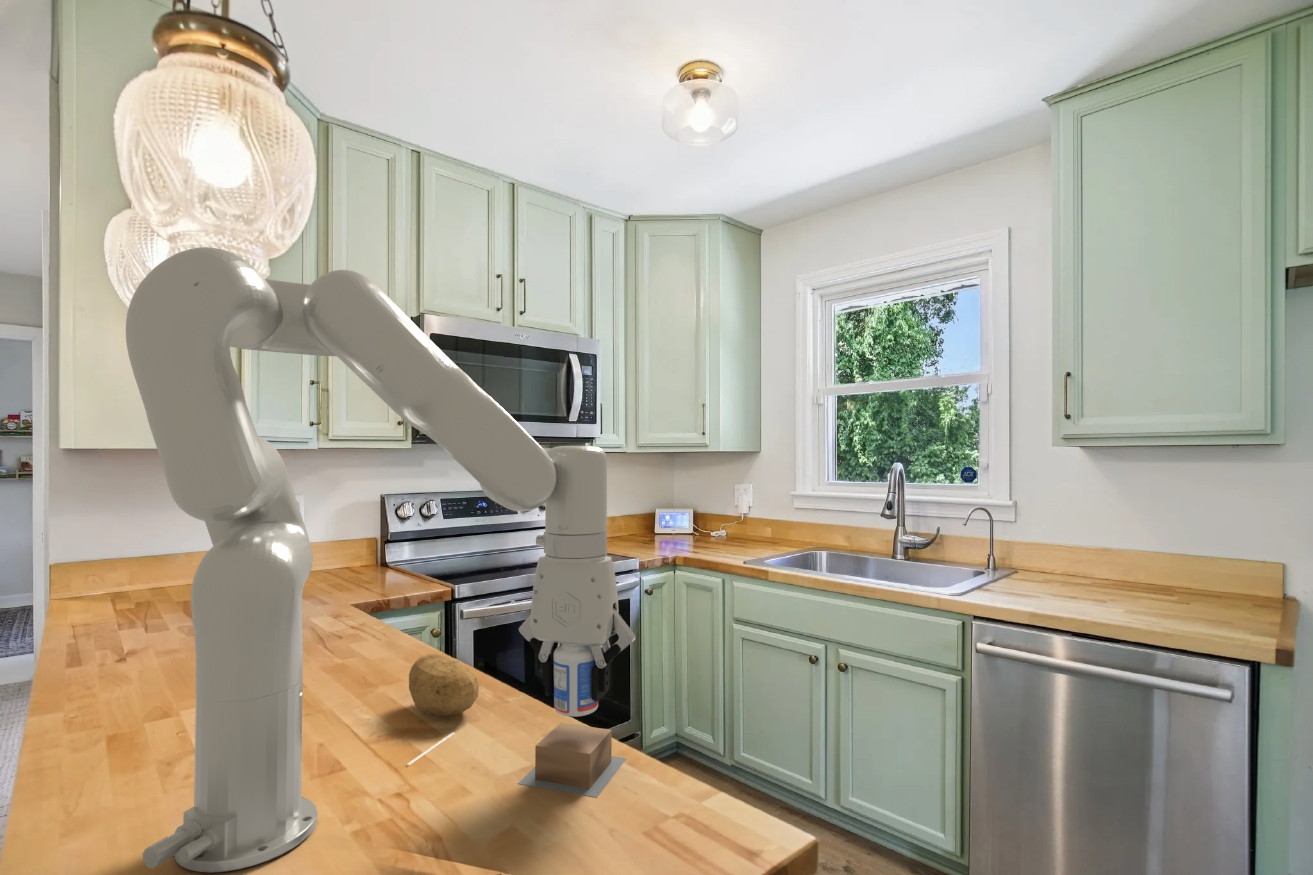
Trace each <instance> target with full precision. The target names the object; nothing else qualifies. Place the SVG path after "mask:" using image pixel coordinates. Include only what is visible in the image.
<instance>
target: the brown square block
mask: <svg viewBox="0 0 1313 875" xmlns="http://www.w3.org/2000/svg"><path fill="white" fill-rule="evenodd" d="M612 731H613V730H612V729H608V728H600V727H599V728H598V727H594V726H586V725H578V724H572V723H566V722H559V724H557V725H556V727H554V728H553V729H552V730H551V731H550V732H549V733H548V734H546V736H545V737H544V738H542V739H541V740H540V741H539V742H538V743H537V744H535V748H534V749H535V750H534V751H535V753H534V754H535V755H534V756H535V759H534V760H535V761H534V762H535V766H534V767H535V780H541V781H546V782H552V783H558V784H564V785H570V786H576V787H582V788H588V789H590V788H591V787H592V785H593V784H594V783H595V782H596V780H597V779H598V778H599V777H600V775H601V774H602V773H603V772H604V770H605V769H606V768H607V767H608V765H609V764H610V763H611V756H612V741H613V740H612V735H613V734H612Z"/></svg>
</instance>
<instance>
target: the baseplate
mask: <svg viewBox="0 0 1313 875" xmlns="http://www.w3.org/2000/svg"><path fill="white" fill-rule="evenodd" d="M627 759H628V758H626V757H621V756H615V755H611V763H610V764H609V765H608V767H607V768H606V769H605V770H604V772H603V773H602V774H601V775H600V777H599V778H598V779H597V780H596V782H595V783H594V784H593V785H592V787H591V788H590V789H588V788H582V787H576V786H570V785H564V784H558V783H552V782H546V781H541V780H535V766H533V768H532V769H531V770H530V771H529V772H528V773H527V774H526V775H525V776H524V777H523V778H522V779H521V780H519V781H518V783H517V785H520V786H526V787H527V786H528V787H533V788H539V789H545V790H549V791H550V790H551V791H556V792H562V793H567V794H572V795H573V794H574V795H579V796H584V797H590V798H598V797H599V796H600V794H601V793H602V791H604V790H605V788H606V786H608V784H609V783H610V782H611V780H612V778H613V777H614V776H615V775H616V774H617V772H618V771H619V770H620V768H621V767H622V766H623V764H624V763H625V762H626V760H627Z"/></svg>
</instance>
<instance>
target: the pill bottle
mask: <svg viewBox="0 0 1313 875" xmlns="http://www.w3.org/2000/svg"><path fill="white" fill-rule="evenodd" d="M593 667H595V659H594V655H593V652H592V649H591V646H588V645H577V644H566V643H560V645H559V646H558V647H557V648H556V649H555V651H554V693H553V706H554V707H553V708H554V711H555V712H556V713H557V714H559V715H561V716H564V717H565V716H566V717H576V718H577V717H583V716H587V715H591V714H592V713H594V712H596V711H597V709H598V707H599V701H593V700H592V668H593Z"/></svg>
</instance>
